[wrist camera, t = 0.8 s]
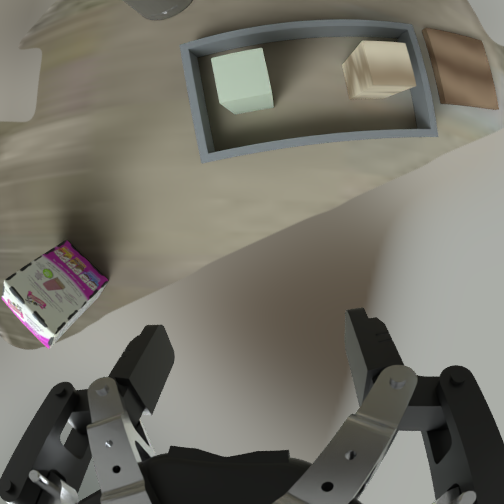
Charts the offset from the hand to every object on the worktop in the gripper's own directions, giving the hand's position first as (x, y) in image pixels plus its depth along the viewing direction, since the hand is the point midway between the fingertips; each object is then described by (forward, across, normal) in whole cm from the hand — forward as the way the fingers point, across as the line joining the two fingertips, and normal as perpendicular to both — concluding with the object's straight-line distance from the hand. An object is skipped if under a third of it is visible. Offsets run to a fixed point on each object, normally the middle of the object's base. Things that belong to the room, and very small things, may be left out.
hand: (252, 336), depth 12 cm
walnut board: (+28, -33, -18) cm, 47 cm away
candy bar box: (+28, +34, +6) cm, 44 cm away
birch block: (+28, -15, -15) cm, 35 cm away
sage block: (+28, 0, -15) cm, 31 cm away
